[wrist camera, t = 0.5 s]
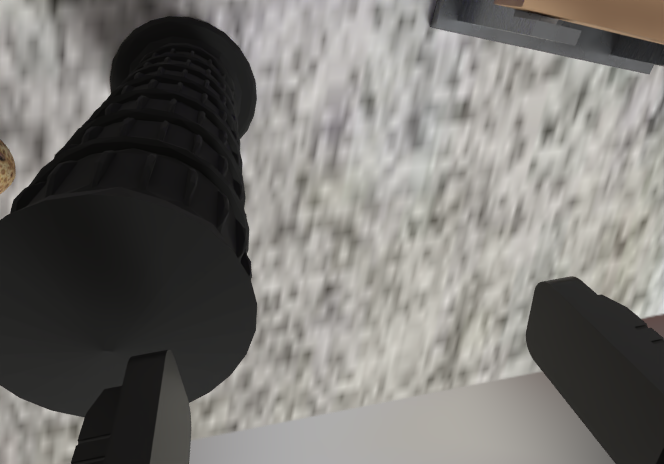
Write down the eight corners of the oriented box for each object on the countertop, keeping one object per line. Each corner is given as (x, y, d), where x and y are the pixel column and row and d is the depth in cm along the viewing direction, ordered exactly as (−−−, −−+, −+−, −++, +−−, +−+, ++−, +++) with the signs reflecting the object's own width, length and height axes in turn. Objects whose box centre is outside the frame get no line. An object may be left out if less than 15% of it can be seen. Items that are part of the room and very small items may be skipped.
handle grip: (263, 30, 32) (107, 3, 30) (360, 166, 10) (-268, 99, 7) (249, 165, 37) (112, 152, 34) (292, 474, 14) (-105, 504, 11)
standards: (460, -84, 31) (554, -107, 22) (683, -19, 37) (830, -16, 28) (430, 27, 34) (502, 46, 25) (640, 72, 40) (760, 100, 31)
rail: (512, -57, 25) (545, -60, 23) (769, 16, 31) (819, 20, 28) (493, 3, 27) (522, 7, 24) (743, 63, 32) (788, 71, 29)
